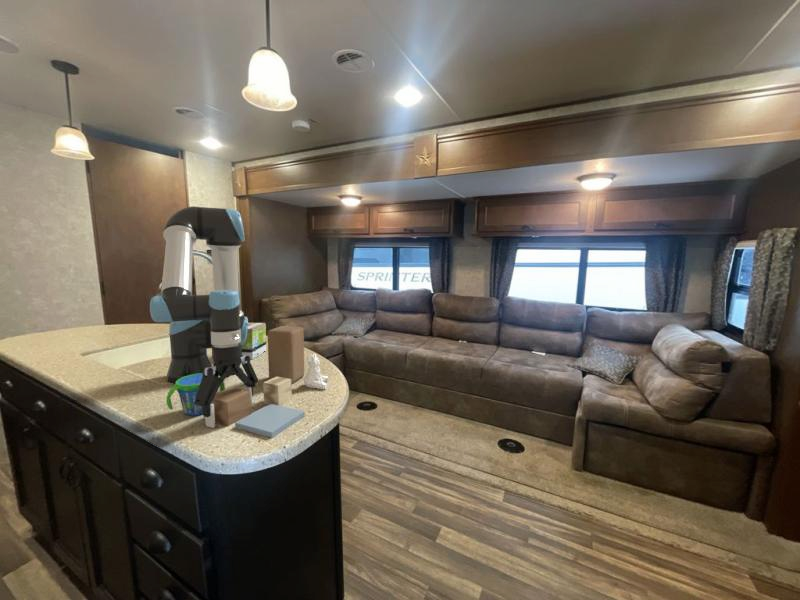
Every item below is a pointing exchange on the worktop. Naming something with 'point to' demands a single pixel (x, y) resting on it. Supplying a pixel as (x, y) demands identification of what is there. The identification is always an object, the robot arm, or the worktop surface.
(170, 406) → the snack cup
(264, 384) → the oak brick
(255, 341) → the tea box
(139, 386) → the worktop surface
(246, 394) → the walnut brick
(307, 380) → the sitting furry creature
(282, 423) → the plate
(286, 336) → the block
